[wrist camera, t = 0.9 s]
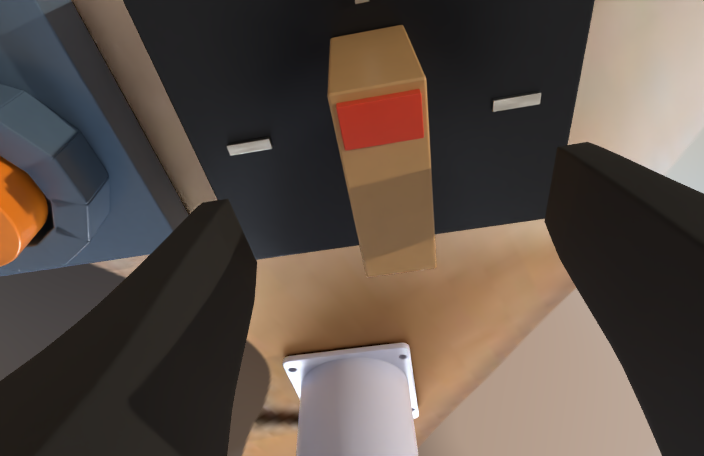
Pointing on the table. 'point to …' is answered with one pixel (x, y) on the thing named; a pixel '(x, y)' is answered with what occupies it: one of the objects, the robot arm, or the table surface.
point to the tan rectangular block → (384, 147)
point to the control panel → (315, 116)
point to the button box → (77, 143)
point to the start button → (18, 210)
